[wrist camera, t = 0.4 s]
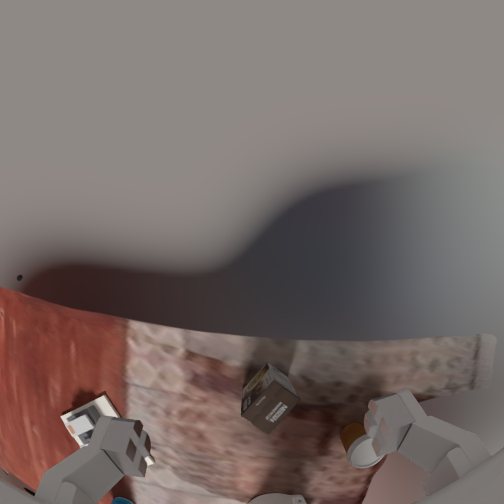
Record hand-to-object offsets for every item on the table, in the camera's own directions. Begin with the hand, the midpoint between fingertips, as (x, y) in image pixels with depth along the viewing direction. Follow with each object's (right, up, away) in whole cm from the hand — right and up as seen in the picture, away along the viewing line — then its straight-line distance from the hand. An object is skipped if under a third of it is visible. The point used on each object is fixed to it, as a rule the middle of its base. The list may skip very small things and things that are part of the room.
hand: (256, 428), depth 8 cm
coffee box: (+3, -24, +50) cm, 55 cm away
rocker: (-43, -37, +41) cm, 70 cm away
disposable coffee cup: (+25, -39, +47) cm, 66 cm away
